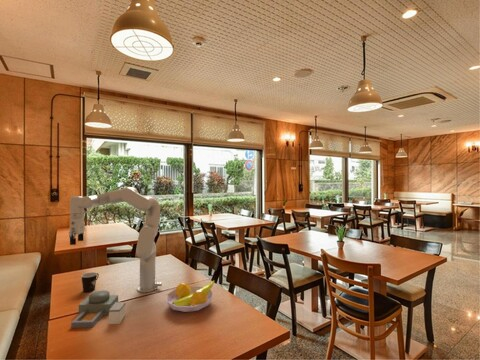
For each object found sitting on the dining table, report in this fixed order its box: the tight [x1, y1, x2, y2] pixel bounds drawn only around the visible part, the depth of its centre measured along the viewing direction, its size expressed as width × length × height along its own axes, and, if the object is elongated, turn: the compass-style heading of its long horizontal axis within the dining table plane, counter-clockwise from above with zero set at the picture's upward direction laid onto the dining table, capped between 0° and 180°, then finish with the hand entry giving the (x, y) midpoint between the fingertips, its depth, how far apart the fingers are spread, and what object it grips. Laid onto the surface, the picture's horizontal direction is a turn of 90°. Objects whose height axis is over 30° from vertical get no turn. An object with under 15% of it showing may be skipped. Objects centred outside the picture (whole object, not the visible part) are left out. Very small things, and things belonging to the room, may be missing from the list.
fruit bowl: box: [165, 280, 215, 313], centre depth 150 cm, size 28×27×11 cm
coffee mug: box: [80, 271, 100, 294], centre depth 169 cm, size 12×9×10 cm
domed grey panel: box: [70, 289, 119, 329], centre depth 138 cm, size 16×24×8 cm
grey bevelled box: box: [108, 301, 126, 325], centre depth 134 cm, size 5×8×7 cm, turn 4°
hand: (76, 242), depth 166 cm, fingers open, 9 cm apart
